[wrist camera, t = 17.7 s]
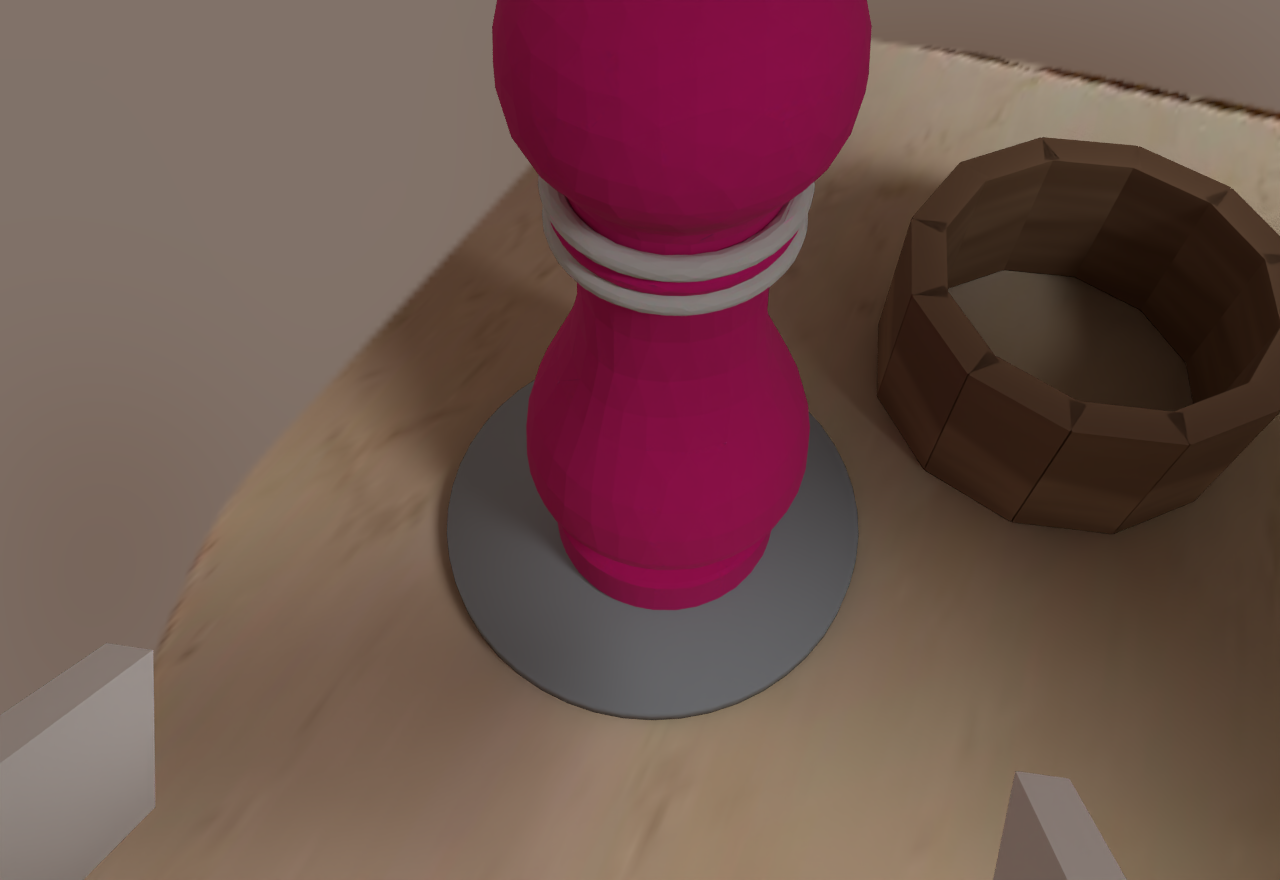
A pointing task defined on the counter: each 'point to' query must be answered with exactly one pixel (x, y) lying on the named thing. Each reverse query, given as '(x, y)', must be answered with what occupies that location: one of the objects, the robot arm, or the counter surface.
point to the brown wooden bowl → (1117, 264)
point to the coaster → (631, 636)
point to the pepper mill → (674, 268)
